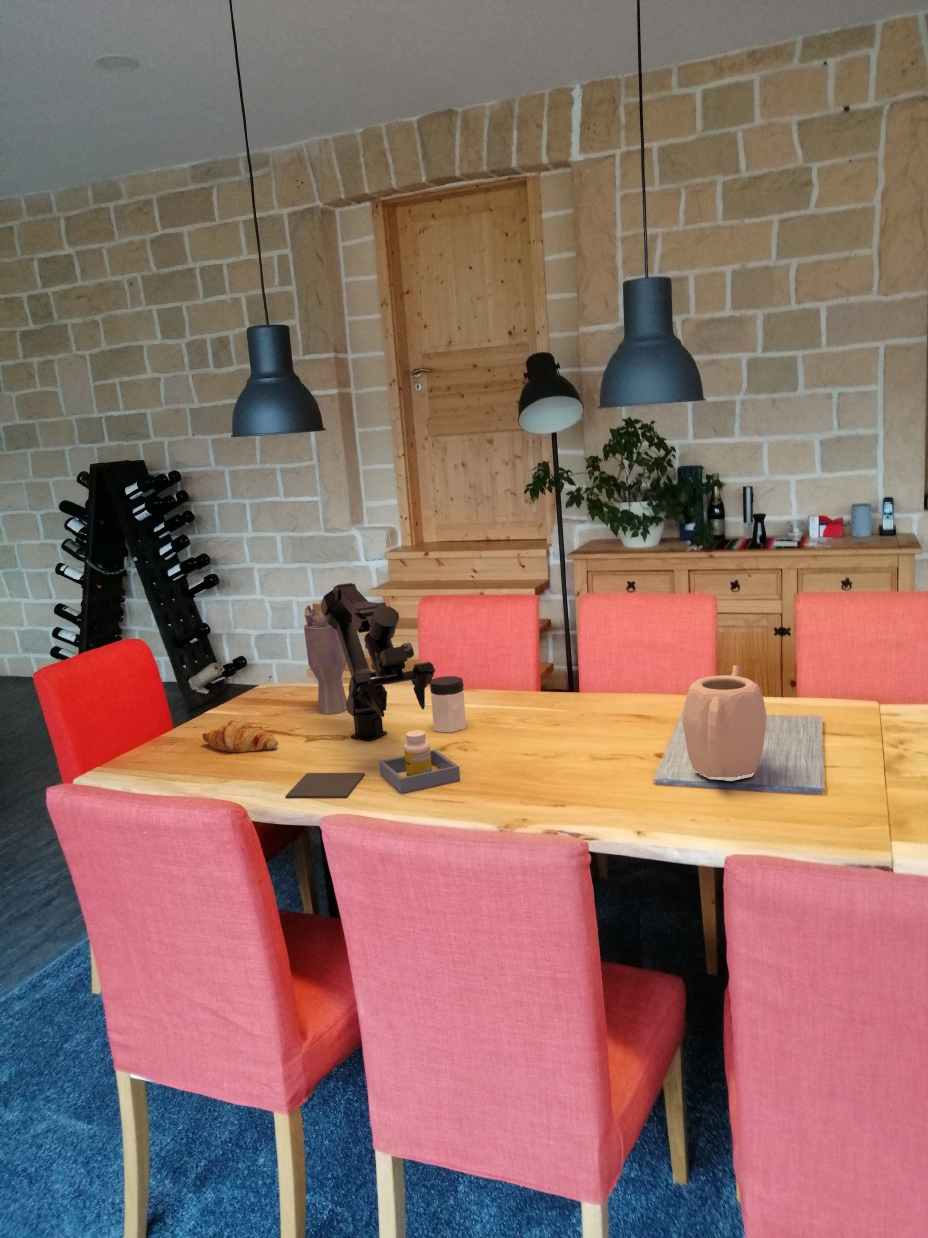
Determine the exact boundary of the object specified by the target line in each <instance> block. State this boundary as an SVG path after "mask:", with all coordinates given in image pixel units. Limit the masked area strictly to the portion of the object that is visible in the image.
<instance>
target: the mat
mask: <svg viewBox="0 0 928 1238" xmlns="http://www.w3.org/2000/svg"><path fill="white" fill-rule="evenodd" d="M365 776H366V774H365V772H306V773H305V775H304V776H302V778H301V779H300V780H299V781H298V782H297V783H296V784H295V785H294V786H293V787H292V788H291V789H290V790H289V791H288V792H287V793H286V794H285V799H348V797H349V796H350V795H351V794H352V793H353V791H354V790H355V788H356V787H357V786H358V785H359V784H360V782H362V781H361V780H362V779H363V778H364V777H365Z"/></svg>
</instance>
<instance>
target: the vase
mask: <svg viewBox="0 0 928 1238" xmlns="http://www.w3.org/2000/svg"><path fill="white" fill-rule="evenodd" d="M321 602H322V600H319V601H318V600H317V601H314V602H311V604H312V608H311V605H306V607H305V608H304V618H305V622H306V624H305V625H303V632H304V636H305V637H304V639H305V645H306V646H305V648H306V654H307V662H308V666H309V668H310V670H311V671H312V673H313V675H314V676H315V678H316V679H317V684H318V685H317V686H318V687H317V689H318V690H317V695H318V697H317V698H318V703H317V705H318V710H317V711H318V713H319V712H320V713H319V714H321V713H322V714H321V715H326V714H327V715H336V713H337V714H340V713H343V712H345V711H347V706H346V702H347V699H348V698H347V697H346V692H345V689H344V684H343V679H342V677H343V674H344V670H345V668H346V667H345V666H346V664H347V661H346V658H345V655H344V652H343V649H342V645H341V642H340V639H339V636H338V633H337V630H336V629H334V628H333V627H332V626H330V625H329V624H328V623H327V620H326V618H325V615H323V614H322V610H321Z"/></svg>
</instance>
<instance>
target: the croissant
mask: <svg viewBox="0 0 928 1238" xmlns="http://www.w3.org/2000/svg"><path fill="white" fill-rule="evenodd" d="M202 739H203V741H204V742H206V743H207V744H209V747H212V749H214V750H218V751H222V752H226V753H227V752H228V753H245V752H256V751H262V750H265V751H266V750H272V749H274V748H276V747H278V745H279V741H278V740H277V739H276V737H275V736H274V735H273V734H271V733H269V732H267V731H266V730H265V729H263V727H262V726H253V725H252V724H250V723H249V722H247V721H242V720H230V721H229V722H227V723H226V725H222V726H220V727H219V728H218V729H214V730H210V731H209V732H205V733H202Z"/></svg>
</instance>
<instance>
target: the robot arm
mask: <svg viewBox="0 0 928 1238" xmlns="http://www.w3.org/2000/svg"><path fill="white" fill-rule="evenodd" d="M321 601H322V602H321V610H322V614H323V615H325V618H326V620H327V623H328V624H329V625H330V626H332V627H333V628H334V629H336V630H337V633H338V636H339V639H340V642H341V645H342V649H343V652H344V655H345V658H346V664H347V667H348V670H349V674H350V676H351V677H350V679H349V683H348V684H349V685H348V689H347V690H348V694H347V698H346V699H347V702H346V706H347V709H346V711H347V713H348V714H349V715H351V717H353V722H354V723H353V726H354V732H355V733H353V734H351V735H350V738H352V739H359V740H362V741H367V742H369V741H372V740H375V739H378V738H380V737H382V736H384V735H387V734H388V731H386V730H384V726H383V724H384V723H383V718H385V711H387V704H388V703H387V700H388V699H387V698H388V691H387V690H386V687H385V685H392V684H396V683H397V684H398V683H404V682H409V681H411V684H412V685H413V689H412V690H413V692H414V694H415V696H416V699H417V702H418V705H419V706H420V708H421V710H425V707H426V704H425V703H426V697H425V696H426V693H425V691H426V688H427V686H429V685H430V683H431V681H432V679H434V678H433V677H434V674H435V672H436V669H435V666H434V664H433V663H432V662H430V661H425V662H419V663H414V665H413V668H412V670H410V671H409V670H408V671H405V672H404V671H403V670H404V669H405V668H406V664H405V662H408V661H409V660H408V659H412V658H413V657H414V656H415V652H414V647H413V645H412V643H411V642H404V643H402V644H401V645H400V646H396V647H394V643H393V642H392V639H393V638H394V637H395V633H396V630H397V627H398V624H399V621H400V614H399V612H398V611H397V610H396V609H394V608H393V607H392V606H388V605H387V604H386V602H385V601H383V602H373V601H369V600H368V599H367V598H366V597H365V596H364V595H363V594H362V593H361V592H360V591H359V590H358V589H357V586H356V583H352V582H347V583H341V584H337V585H335V586H334V587H333V589H332V590H330V591H329V592H328V593H326V594H325V595H323V597H322V600H321ZM358 633H359V634H361V633H366V634H365V636H364V639H363V641H364V643H365V644H364V647H365V649H366V650H367V652H368V656H369V658H370V661H371V669H372V670H374V671H371V670H370V668H369V665H368V661H367V658H366V656H365V652H364V649H363V645H362V643H361V640H360V637H359V634H358Z"/></svg>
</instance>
